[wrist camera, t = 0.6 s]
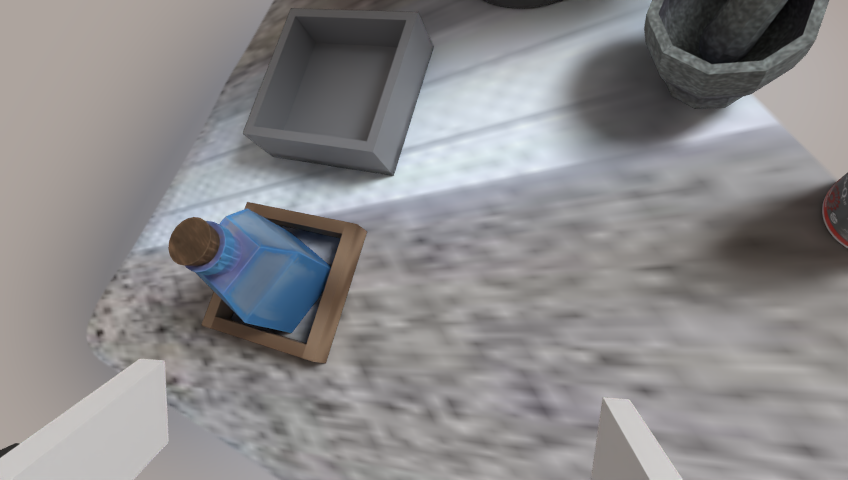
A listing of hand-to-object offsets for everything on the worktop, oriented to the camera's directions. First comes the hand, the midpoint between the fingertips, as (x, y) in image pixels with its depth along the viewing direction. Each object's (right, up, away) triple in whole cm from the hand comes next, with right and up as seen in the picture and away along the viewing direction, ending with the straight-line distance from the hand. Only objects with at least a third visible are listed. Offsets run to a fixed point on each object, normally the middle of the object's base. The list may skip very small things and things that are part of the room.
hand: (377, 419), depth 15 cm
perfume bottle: (-10, +2, +28) cm, 30 cm away
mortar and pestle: (+23, +18, +22) cm, 37 cm away
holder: (-10, +2, +28) cm, 29 cm away
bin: (-5, +18, +31) cm, 36 cm away
